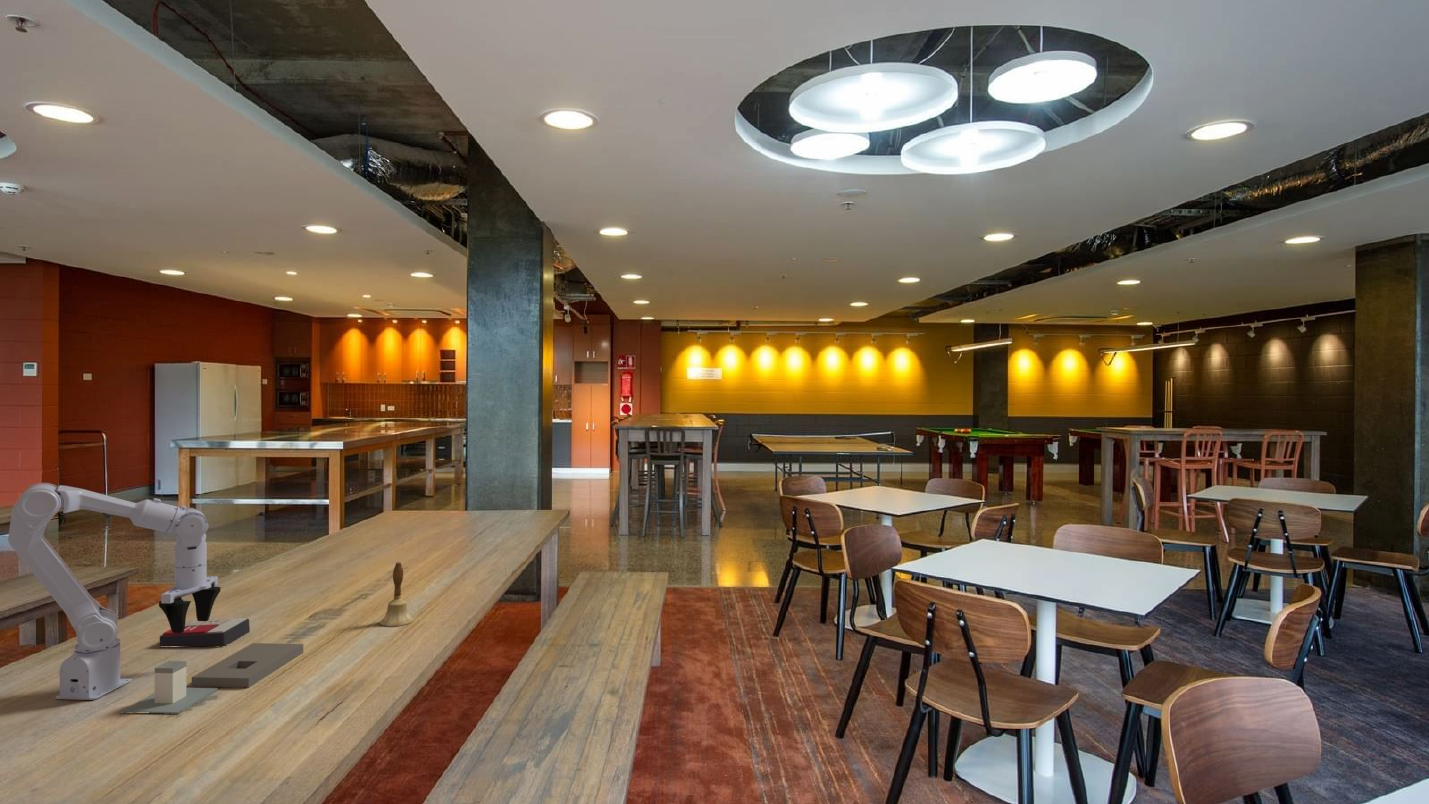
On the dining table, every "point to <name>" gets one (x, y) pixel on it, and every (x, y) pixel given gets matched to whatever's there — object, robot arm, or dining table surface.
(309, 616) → the dining table surface
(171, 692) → the plug
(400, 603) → the hand bell
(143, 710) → the mat
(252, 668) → the grey slotted plate
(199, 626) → the black and red box
